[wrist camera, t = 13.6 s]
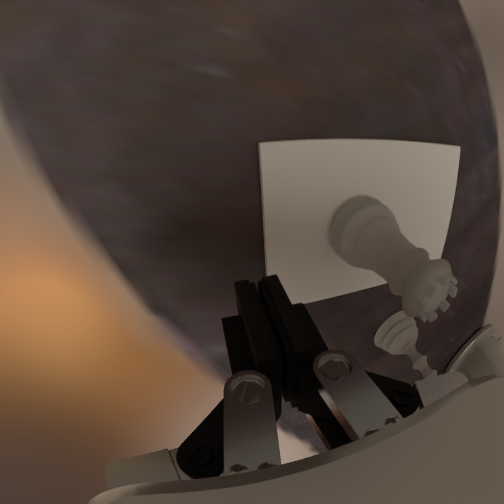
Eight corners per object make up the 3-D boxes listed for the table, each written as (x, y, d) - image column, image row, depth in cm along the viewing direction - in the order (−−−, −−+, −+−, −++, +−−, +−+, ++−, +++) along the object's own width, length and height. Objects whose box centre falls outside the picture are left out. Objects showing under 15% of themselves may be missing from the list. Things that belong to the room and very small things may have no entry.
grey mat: (455, 145, 16) (460, 147, 16) (434, 265, 22) (437, 267, 21) (257, 142, 14) (259, 143, 13) (267, 306, 19) (269, 311, 19)
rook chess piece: (393, 226, 18) (473, 290, 11) (347, 268, 19) (415, 349, 12) (366, 179, 16) (465, 237, 9) (313, 228, 16) (391, 314, 10)
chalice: (363, 323, 23) (469, 491, 7) (421, 288, 23) (536, 426, 7) (368, 363, 27) (444, 496, 11) (417, 333, 27) (502, 450, 11)
